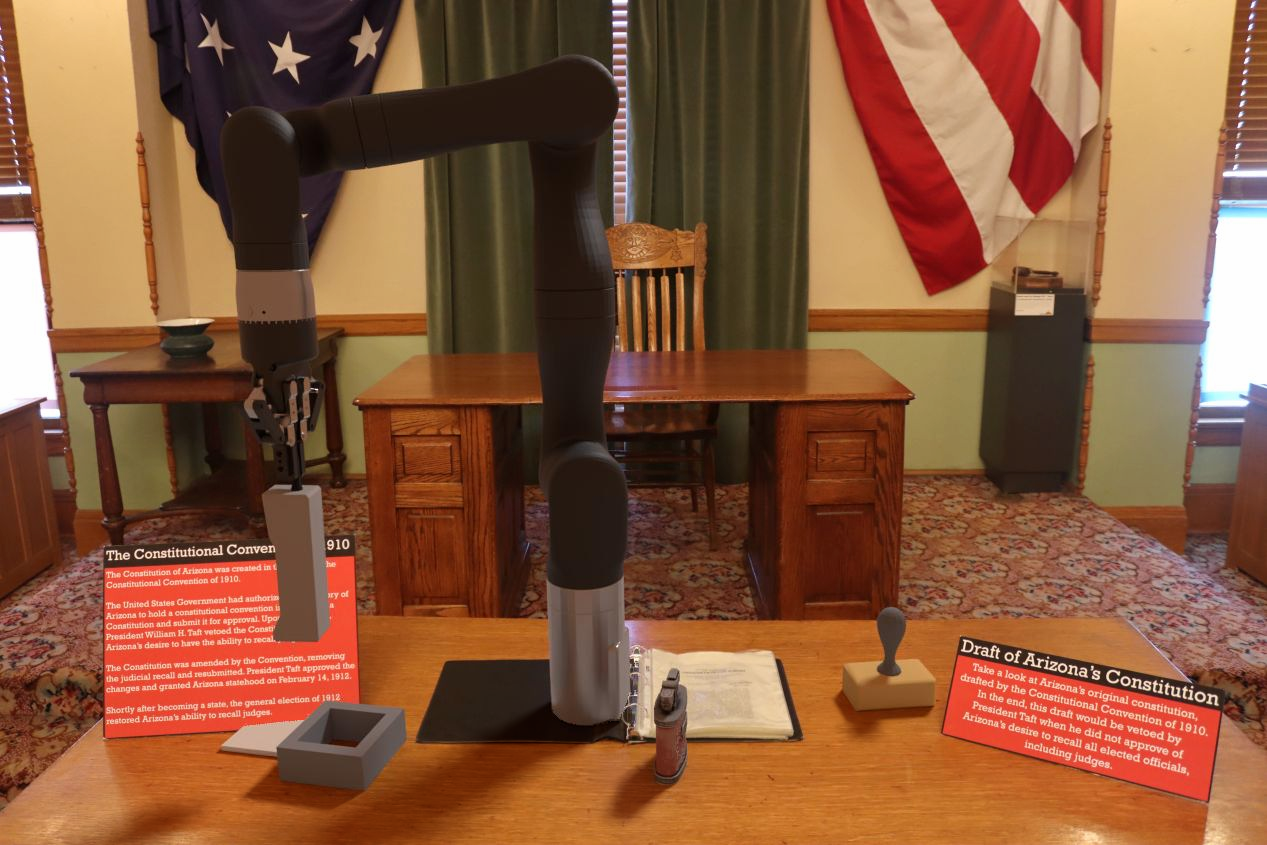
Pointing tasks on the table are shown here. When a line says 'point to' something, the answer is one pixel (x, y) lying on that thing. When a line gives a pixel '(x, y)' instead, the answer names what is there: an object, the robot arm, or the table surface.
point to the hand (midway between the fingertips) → (291, 477)
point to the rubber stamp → (889, 673)
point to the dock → (339, 765)
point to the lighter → (671, 730)
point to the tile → (260, 738)
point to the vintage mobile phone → (298, 559)
